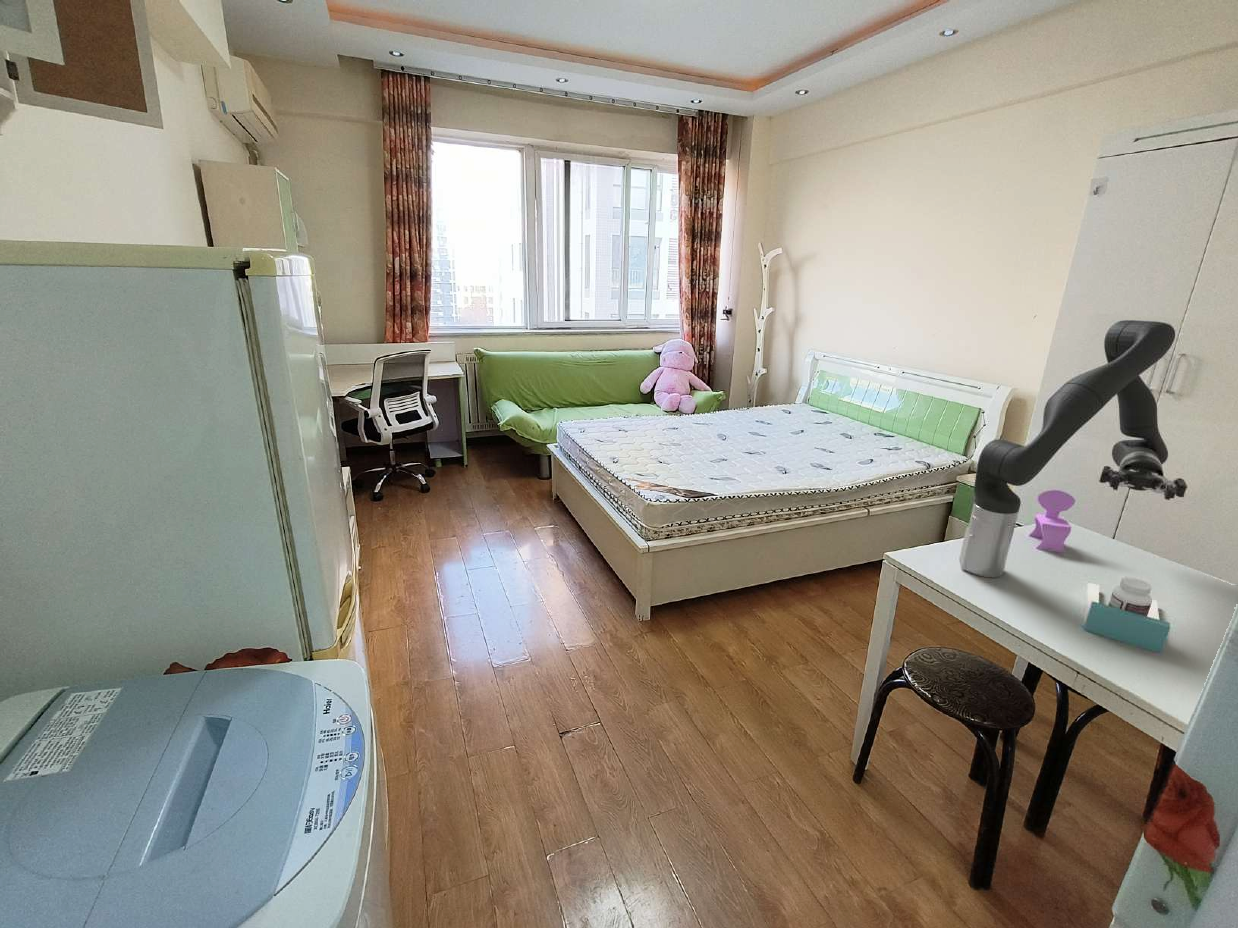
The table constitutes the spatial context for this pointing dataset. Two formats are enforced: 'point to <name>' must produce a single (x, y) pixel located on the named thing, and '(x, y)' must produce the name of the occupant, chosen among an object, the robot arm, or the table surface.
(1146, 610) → the pill bottle
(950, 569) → the table surface
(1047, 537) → the toy chair
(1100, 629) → the guide
